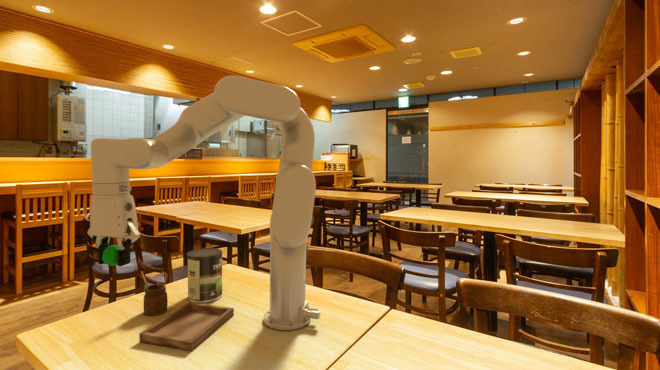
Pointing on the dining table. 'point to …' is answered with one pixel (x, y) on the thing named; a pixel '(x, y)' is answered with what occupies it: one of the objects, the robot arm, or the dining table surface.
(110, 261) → the polyhedron
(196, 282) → the coffee can
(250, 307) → the dining table surface
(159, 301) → the utensil holder
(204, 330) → the tray
